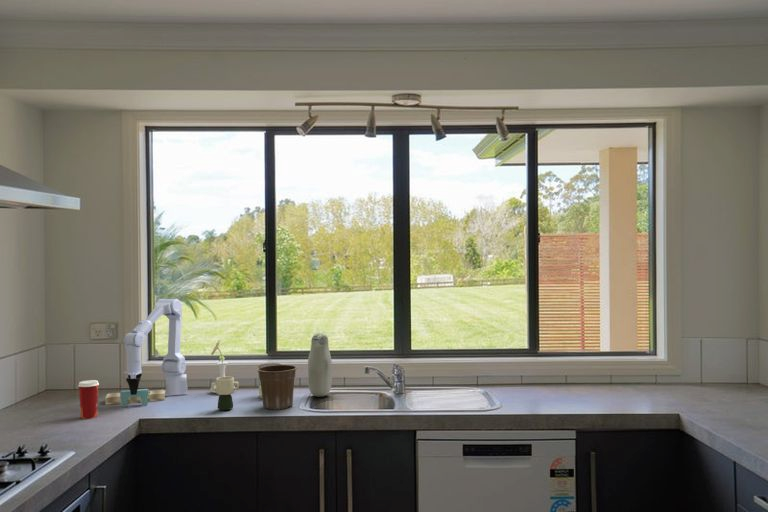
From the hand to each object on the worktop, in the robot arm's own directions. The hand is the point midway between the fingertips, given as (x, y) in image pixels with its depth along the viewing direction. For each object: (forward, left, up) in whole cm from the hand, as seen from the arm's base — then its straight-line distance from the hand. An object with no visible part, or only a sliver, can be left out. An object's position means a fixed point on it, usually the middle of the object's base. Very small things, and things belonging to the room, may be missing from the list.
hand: (134, 392), depth 274 cm
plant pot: (-57, +24, -6) cm, 62 cm away
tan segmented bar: (0, -11, -5) cm, 12 cm away
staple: (0, 0, -5) cm, 5 cm away
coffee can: (-57, +3, -6) cm, 57 cm away
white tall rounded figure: (-78, +11, -6) cm, 79 cm away
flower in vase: (-37, -13, -6) cm, 40 cm away
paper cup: (+16, +15, -6) cm, 23 cm away
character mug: (-36, +22, -6) cm, 43 cm away
